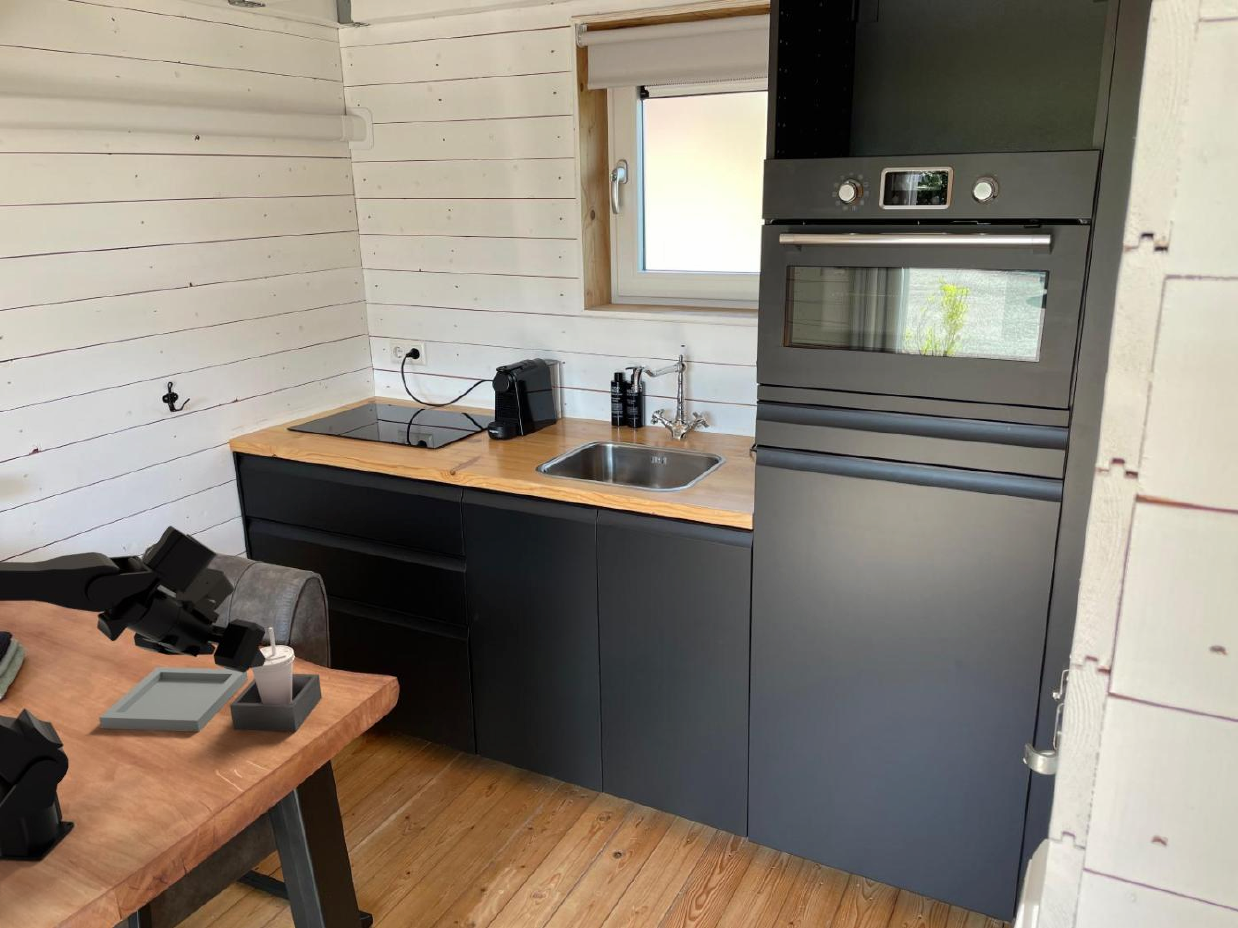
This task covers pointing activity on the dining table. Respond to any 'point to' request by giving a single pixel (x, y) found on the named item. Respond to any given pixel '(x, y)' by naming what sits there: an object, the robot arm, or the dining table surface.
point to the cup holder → (276, 706)
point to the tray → (174, 699)
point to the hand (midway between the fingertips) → (238, 656)
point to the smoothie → (275, 674)
